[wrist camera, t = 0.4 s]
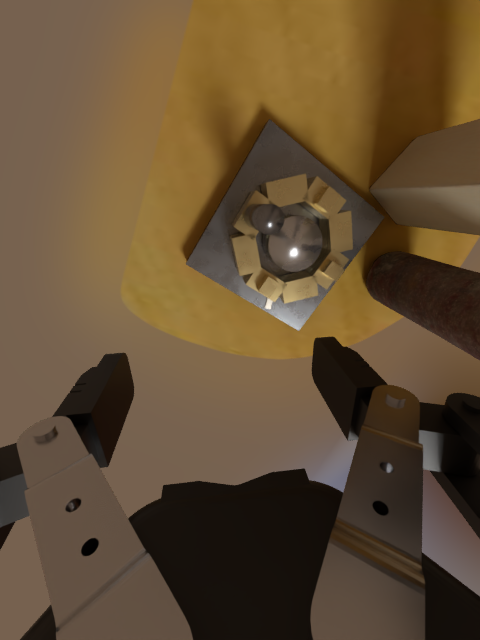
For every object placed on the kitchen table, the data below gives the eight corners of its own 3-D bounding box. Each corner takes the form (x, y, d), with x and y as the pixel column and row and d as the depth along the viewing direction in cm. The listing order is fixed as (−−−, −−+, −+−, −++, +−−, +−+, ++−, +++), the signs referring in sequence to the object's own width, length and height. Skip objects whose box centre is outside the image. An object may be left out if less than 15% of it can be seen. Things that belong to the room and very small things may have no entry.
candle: (355, 299, 41) (477, 376, 23) (367, 248, 39) (516, 289, 20) (402, 300, 42) (555, 374, 24) (417, 251, 40) (602, 292, 21)
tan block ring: (274, 152, 31) (308, 128, 21) (362, 223, 35) (423, 230, 25) (210, 258, 34) (214, 280, 25) (296, 311, 38) (328, 348, 29)
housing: (265, 123, 31) (279, 107, 26) (375, 216, 37) (405, 218, 31) (186, 261, 36) (183, 271, 31) (294, 325, 42) (308, 343, 36)
